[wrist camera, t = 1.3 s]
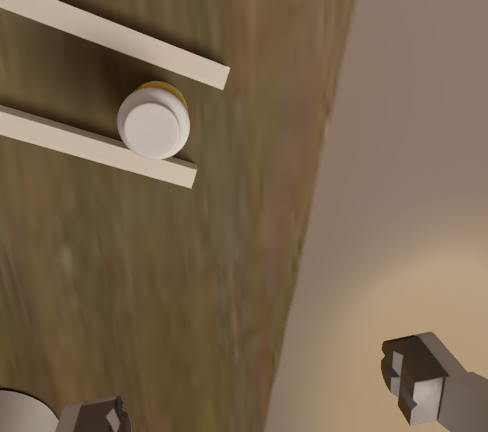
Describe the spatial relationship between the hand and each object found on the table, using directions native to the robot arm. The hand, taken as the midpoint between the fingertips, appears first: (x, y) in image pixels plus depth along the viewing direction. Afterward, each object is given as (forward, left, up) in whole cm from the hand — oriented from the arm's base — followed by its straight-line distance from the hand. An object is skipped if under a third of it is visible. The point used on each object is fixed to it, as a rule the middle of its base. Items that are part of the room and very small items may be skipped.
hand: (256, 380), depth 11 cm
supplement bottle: (+2, +5, -30) cm, 30 cm away
